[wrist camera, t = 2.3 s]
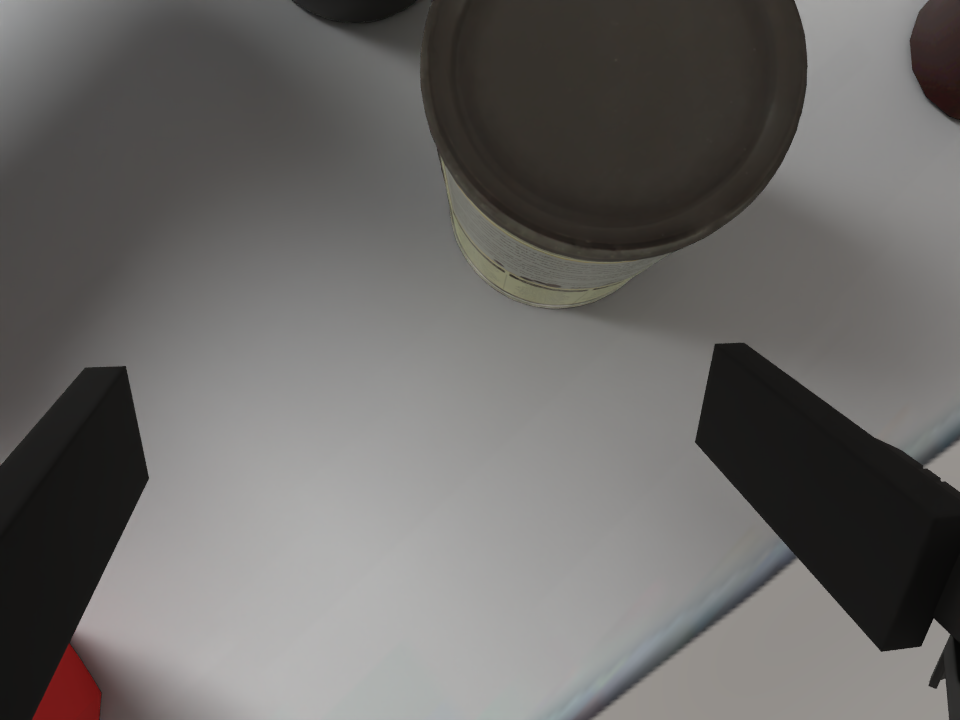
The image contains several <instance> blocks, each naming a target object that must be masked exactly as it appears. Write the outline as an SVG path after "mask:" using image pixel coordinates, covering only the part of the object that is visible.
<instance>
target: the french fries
mask: <svg viewBox="0 0 960 720" xmlns="http://www.w3.org/2000/svg"><path fill="white" fill-rule="evenodd" d="M100 703H101V692H100V690H99V688H98V687H97V685H96V683H95V682H94V680H93V678H92V676H91V675H90V673H89V672H88V670H87V669H86V667H85V666H84V664H83V662H82V661H81V659H80V658H79V656H78V655H77V653H76V652H75V651H74V649H73V648H72V646H71V645H70V643H69V644H68V646H67V649H66V651H65V653H64V655H63V657H62V659H61V661H60V663H59V665H58V667H57V669H56V671H55V673H54V675H53V677H52V679H51V682H50V684H49V686H48V688H47V690H46V692H45V694H44V696H43V698H42V700H41V702H40V704H39V706H38V708H37V710H36V713H35V715H34V717H33V719H32V720H99V716H100Z"/></svg>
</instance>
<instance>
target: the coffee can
mask: <svg viewBox="0 0 960 720" xmlns="http://www.w3.org/2000/svg"><path fill="white" fill-rule="evenodd" d="M807 67H808V66H807V52H806V42H805V34H804V30H803V26H802V22H801V18H800V15H799V12H798V9H797V6H796V4H795V1H794V0H433V1H432V4H431V6H430V9H429V13H428V17H427V20H426V24H425V29H424V35H423V41H422V48H421V61H420V78H421V91H422V97H423V103H424V108H425V113H426V117H427V121H428V125H429V128H430V132H431V135H432V137H433V139H434V142H435V144H436V147H437V151H438V155H439V160H440V163H441V169H442V173H443V177H444V181H445V185H446V191H447V196H448V201H449V206H450V216H451V222H452V227H453V231H454V235H455V238H456V241H457V243H458V245H459V247H460V249H461V251H462V253H463V255H464V257H465V258H466V260H467V261H468V263H469V264H470V266H471V267H472V268H473V269H474V270H475V272H476V273H477V274H478V275H479V276H480V277H481V278H482V279H483V280H484V281H485V282H487V283H488V284H489V285H490V286H491V287H493V288H494V289H495V290H497V291H498V292H500V293H502V294H503V295H505V296H506V297H508V298H510V299H513V300H515V301H518V302H521V303H524V304H528V305H531V306H535V307H543V308H551V309H556V308H570V307H576V306H581V305H585V304H589V303H593V302H595V301H598V300H599V299H601V298H603V297H605V296H607V295H609V294H611V293H613V292H614V291H616V290H617V289H619V288H620V287H622V286H623V285H624V284H625V283H627V282H628V281H629V280H630V279H631V278H633V277H634V276H636V275H637V274H639V273H641V272H643V271H644V270H646V269H647V268H649V267H650V266H652V265H653V264H655V263H656V262H658V261H659V260H661V259H662V258H664V257H666V256H667V255H669V254H670V253H672V252H674V251H677V250H679V249H682V248H684V247H686V246H689V245H691V244H693V243H695V242H697V241H699V240H701V239H703V238H705V237H707V236H709V235H710V234H712V233H713V232H715V231H716V230H718V229H719V228H721V227H722V226H724V225H725V224H727V223H728V222H729V221H731V220H732V219H733V218H735V217H736V216H737V215H739V214H740V213H741V212H742V211H743V210H744V209H745V208H747V207H748V206H749V205H750V204H751V203H752V202H753V201H754V200H755V198H756V197H757V196H758V195H759V194H760V193H761V192H762V191H763V190H764V188H765V187H766V186H767V184H768V183H769V181H770V180H771V179H772V177H773V176H774V174H775V173H776V171H777V170H778V168H779V166H780V165H781V163H782V161H783V159H784V157H785V155H786V153H787V151H788V149H789V147H790V145H791V143H792V140H793V138H794V135H795V133H796V131H797V127H798V122H799V119H800V116H801V113H802V109H803V103H804V98H805V92H806V86H807Z"/></svg>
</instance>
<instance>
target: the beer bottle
mask: <svg viewBox="0 0 960 720" xmlns="http://www.w3.org/2000/svg"><path fill="white" fill-rule="evenodd" d="M910 48H911V59H912V70H913V72H914V74H915V76H916V78H917V80H918V82H919V84H920V85H921V87H922V89H923V91H924V93H925V95H926V97H927V98H929V99H930V100H931V101H932V102H933V103H934V104H936V105H937V106H938V107H939V108H940V109H941V110H943V111H944V112H945V113H946V114H947V115H949V116H950V117H953V118H956V119H959V120H960V0H929V1H928V2H927V3H926V4H925V6H924V7H923V8H922V9H921V10H920V11H919V14H918V17H917V20H916V23H915V26H914V29H913V32H912V35H911V38H910Z"/></svg>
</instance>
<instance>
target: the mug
mask: <svg viewBox="0 0 960 720" xmlns="http://www.w3.org/2000/svg"><path fill="white" fill-rule="evenodd" d="M292 1H294V2H295V3H296V4H298V5H299V6H301V7H303V8H304V9H306V10H308V11H310V12H312V13H314V14H317V15H319V16H321V17H324V18H327V19H331V20H335V21H340V22H351V23H359V22H370V21H375V20H379V19H383V18H386V17H389V16H391V15H394V14H396V13H398V12H400V11H402V10H403V9H405V8H407V7H408V6H410V5H412V4H413V3H414V2H415V1H416V0H292Z"/></svg>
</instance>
